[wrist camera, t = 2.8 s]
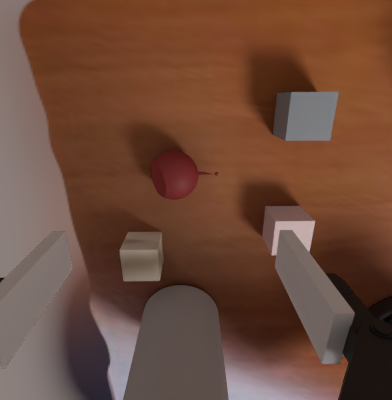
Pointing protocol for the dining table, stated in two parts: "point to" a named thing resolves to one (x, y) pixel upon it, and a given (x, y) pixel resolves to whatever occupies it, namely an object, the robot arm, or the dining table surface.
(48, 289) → the robot arm
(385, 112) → the dining table surface
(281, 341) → the dining table surface
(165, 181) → the fruit
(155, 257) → the birch block
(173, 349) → the cylinder vase
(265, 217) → the dusty rose block
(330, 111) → the slate grey block
